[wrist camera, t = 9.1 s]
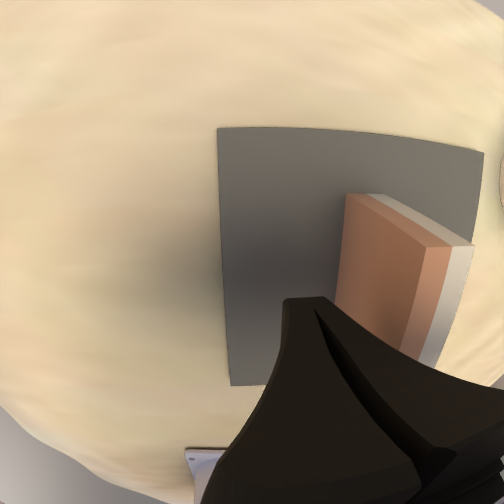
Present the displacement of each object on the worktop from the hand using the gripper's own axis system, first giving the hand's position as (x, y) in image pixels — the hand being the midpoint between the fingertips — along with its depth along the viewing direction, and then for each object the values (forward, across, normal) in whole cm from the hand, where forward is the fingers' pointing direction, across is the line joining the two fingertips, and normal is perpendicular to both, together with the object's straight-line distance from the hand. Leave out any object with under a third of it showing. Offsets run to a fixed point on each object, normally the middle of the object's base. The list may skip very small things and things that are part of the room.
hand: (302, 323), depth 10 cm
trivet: (+4, -4, 0) cm, 6 cm away
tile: (+4, -3, 0) cm, 5 cm away
